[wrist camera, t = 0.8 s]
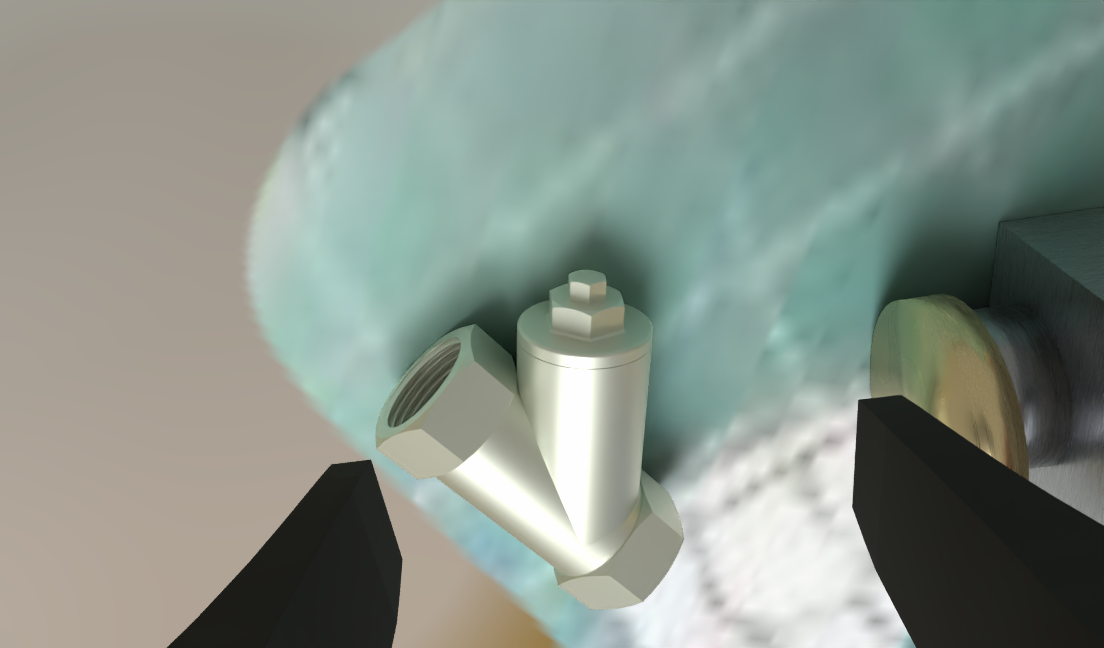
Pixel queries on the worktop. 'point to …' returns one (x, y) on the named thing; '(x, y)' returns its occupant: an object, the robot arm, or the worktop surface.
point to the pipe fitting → (548, 438)
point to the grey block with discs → (1015, 357)
